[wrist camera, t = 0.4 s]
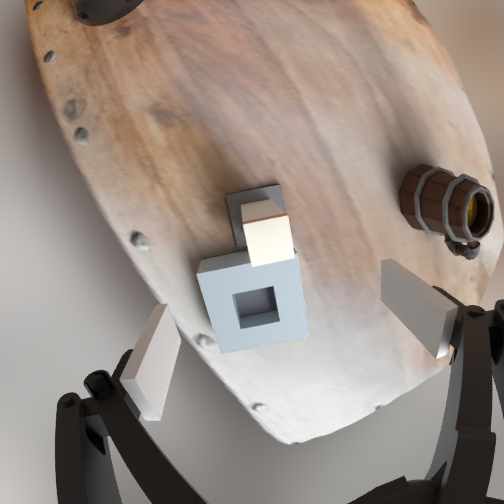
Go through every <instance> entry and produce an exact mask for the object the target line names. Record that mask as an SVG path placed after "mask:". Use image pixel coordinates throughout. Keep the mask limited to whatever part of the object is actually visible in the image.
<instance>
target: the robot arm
mask: <svg viewBox="0 0 504 504" xmlns="http://www.w3.org/2000/svg"><path fill="white" fill-rule="evenodd" d="M142 1H143V0H71V2H72V6H73V9H74V12H75V14H76V16H77V17H78V18H79V19H80V20H81V21H82V22H83V23H85V24H87V25H92V26H97V25H103V24H107V23H110V22H113V21H115V20H117V19H119V18H121V17H123V16H125V15H126V14H128V13H129V12H131V11H132V10H133V9H135V8H136V7H137V6H138V5H139V4H140V3H141V2H142ZM381 301H382V302H383V303H384V304H385V305H386V306H387V307H388V308H389V309H390V310H391V311H392V312H393V313H394V314H395V315H396V316H397V317H398V318H399V319H400V320H401V321H402V322H403V323H404V325H405V326H406V327H407V328H408V329H409V330H410V331H411V332H412V333H413V334H414V335H415V336H416V337H417V339H418V340H419V341H420V342H421V343H422V344H423V345H424V346H425V347H426V348H427V350H428V351H429V352H430V353H431V354H432V355H433V356H434V357H435V358H436V359H438V358H440V357H442V356H444V355H446V354H447V353H448V350H449V346H450V344H451V345H452V346H453V347H454V351H453V354H452V358H451V361H450V364H449V365H451V364H452V366H451V375H450V383H449V390H448V396H447V402H446V408H445V413H444V418H443V423H442V428H441V432H440V436H439V440H438V443H437V447H436V451H435V454H434V458H433V461H432V464H431V467H430V469H429V471H428V473H427V475H426V477H425V479H424V480H410V481H406V478H405V476H403V477H400V478H398V479H396V480H393V481H391V482H389V483H386V484H383V485H381V486H378V487H376V488H374V489H373V490H371V491H369V492H368V493H366V494H364V495H363V496H361V497H359V498H357V499H356V500H354V501H352V502H350V503H348V504H504V500H500V499H495V498H491V497H486V494H487V489H488V485H489V481H490V476H491V471H492V465H493V459H494V452H495V444H496V434H495V433H494V432H493V433H492V432H491V417H492V375H493V378H494V382H495V385H496V389H497V392H498V396H499V400H500V404H501V408H502V413H503V418H504V300H498V301H497V302H496V304H495V308H494V310H491V311H485V310H484V309H482V308H481V307H479V306H476V305H469V306H467V307H466V306H465V305H464V304H462V303H461V302H460V301H458V300H457V299H456V298H454V297H452V296H451V295H450V294H449V293H447V292H446V291H445V290H443V289H442V288H439V287H436V286H430V285H429V284H427V283H426V282H425V281H423V280H422V279H420V278H419V277H418V276H416V275H415V274H413V273H412V272H410V271H409V270H408V269H406V268H405V267H403V266H402V265H400V264H399V263H397V262H396V261H394V260H393V259H386V260H382V261H381ZM180 343H181V339H180V336H179V334H178V331H177V328H176V325H175V323H174V320H173V317H172V314H171V312H170V309H169V306H168V304H162V305H156V307H155V309H154V310H153V312H152V314H151V316H150V318H149V320H148V322H147V324H146V326H145V328H144V330H143V332H142V334H141V336H140V338H139V340H138V342H137V344H136V346H135V348H134V349H131V350H128V351H127V352H125V354H124V355H122V357H121V359H120V361H119V363H118V365H117V367H116V369H115V371H114V373H113V375H112V377H110V375H109V373H108V372H107V371H104V370H97V371H95V372H93V373H91V374H89V375H88V376H87V377H86V378H85V380H84V386H85V388H86V390H87V391H88V393H89V394H90V395H91V397H90V398H86V399H81V398H80V397H79V396H78V394H76V393H73V392H71V393H67V394H65V395H63V396H62V397H61V398H60V399H59V401H58V404H57V413H56V431H55V471H56V487H57V496H58V504H122V501H121V498H120V494H119V490H118V486H117V483H116V479H115V475H114V470H113V466H112V461H111V456H110V451H109V445H108V439H107V436H110V437H111V438H112V440H113V442H114V444H115V446H116V448H117V449H118V451H119V453H120V455H121V457H122V458H123V460H124V462H125V463H126V465H127V467H128V468H129V470H130V472H131V473H132V475H133V477H134V478H135V480H136V481H137V483H138V484H139V486H140V487H141V489H142V490H143V492H144V493H145V494H146V496H147V497H148V499H149V500H150V501H151V503H152V504H209V503H208V502H207V501H206V500H205V499H204V498H203V497H202V496H201V495H200V494H199V493H198V492H197V491H196V490H195V489H194V487H193V486H192V485H191V484H190V483H189V482H188V481H187V480H186V479H185V478H184V477H183V476H182V474H181V473H180V472H179V471H178V470H177V469H176V468H175V466H174V465H173V464H172V463H171V462H170V461H169V459H168V458H167V457H166V455H165V454H164V453H163V452H162V451H161V449H160V448H159V447H158V445H157V444H156V443H155V441H154V440H153V439H152V437H151V436H150V435H149V433H148V432H147V431H146V429H145V428H144V427H143V425H142V424H141V422H140V421H139V417H140V413H141V414H142V416H143V417H144V419H145V420H146V421H160V420H161V416H162V412H163V408H164V404H165V400H166V396H167V392H168V388H169V384H170V380H171V376H172V373H173V369H174V365H175V362H176V358H177V354H178V351H179V347H180Z"/></svg>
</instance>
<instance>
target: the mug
mask: <svg viewBox="0 0 504 504" xmlns="http://www.w3.org/2000/svg"><path fill="white" fill-rule="evenodd" d="M400 201H401V213H402V214H403V216H404V217H405V218H406V220H407V221H408V222H409V224H410V225H411V227H413V228H415V229H418V230H424V231H425V232H426V233H429V234H435V235H440V236H442V235H444V236H445V240H444V241H445V243H446V245H447V246H448V248H449V250H450V251H451V252H452V253H453V254H454V255H455V256H459V255H461V256H464V257H465V258H466V259H468V260H471V259H474V258H475V257H476V256H477V255H478V254H479V251H480V242H479V241H480V240H481V239H482V238H483V237H485V236H486V235H487V234H488V233H489V231H490V228H491V226H492V223H493V220H494V201H493V198H492V196H491V193H490V191H489V190H488V189H487V188H486V187H484V186H482V185H480V184H479V182H478V180H477V179H475V178H473V177H470V176H468V175H466V174H462V175H460V176H459V177H455V176H454V174H453V172H451V171H448V170H446V169H443V168H440V167H435V168H434V167H431V166H428V165H420V166H418V167H417V168H415V169H413V170H411V171H410V172H408V173H407V175H406V178H405V180H404V182H403V185H402V187H401V190H400ZM478 240H479V241H478ZM462 242H463V243H467V245H463V244H462Z"/></svg>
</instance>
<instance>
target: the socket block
mask: <svg viewBox="0 0 504 504" xmlns="http://www.w3.org/2000/svg"><path fill="white" fill-rule="evenodd" d="M293 249H294V247H293ZM294 255H295V258H293V259H288V260H284V261H279V262H274V263H269V264H265V265H260V266H255V267H252V266H251V261H250V257H249V252H248V250H246V251H241V252H236V253H231V254H227V255H222V256H217V257H212V258H207V259H203V260H201V262H200V265H199V268H198V271H197V274H196V275H197V278H198V282H199V285H200V288H201V292H202V295H203V298H204V302H205V305H206V308H207V311H208V315H209V318H210V321H211V324H212V327H213V330H214V333H215V336H216V339H217V342H218V345H219V348H220V351H221V354H223V353H229V352H235V351H241V350H246V349H252V348H257V347H262V346H267V345H272V344H277V343H282V342H286V341H291V340H295V339H300V338H304V337H308V336H309V335H308V327H307V318H306V310H305V303H304V295H303V288H302V280H301V273H300V266H299V260H298V253H297V252H296V250H295V249H294Z"/></svg>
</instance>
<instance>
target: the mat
mask: <svg viewBox="0 0 504 504" xmlns="http://www.w3.org/2000/svg"><path fill="white" fill-rule="evenodd" d="M226 198H227V203H228V207H229V212H230V216H231V221H232V225H233V230H234V234H235V239H236V243H237V248H238V247H243V246H247V243H246V238H245V233H244V229H243V223H242V222H243V221H242V212H241V205H243V204H248V203H253V202H258V201H263V200H268V199H271V200H272V201H273V202H274V203H275V204H276V205H277V206H278V207H280V208H281V209H282V210H283V211H284V212H285V207H284V202H283V196H282V191H281V185H280V184H278V185H272V186H267V187H262V188H257V189H252V190H247V191H242V192H237V193H233V194H228V195H226Z"/></svg>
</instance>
